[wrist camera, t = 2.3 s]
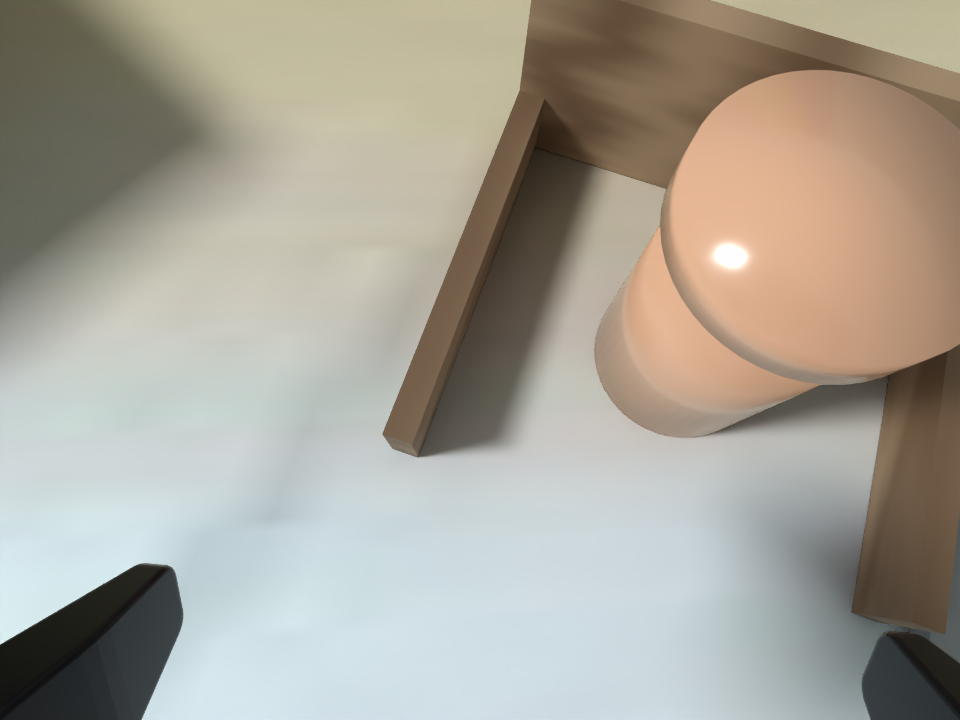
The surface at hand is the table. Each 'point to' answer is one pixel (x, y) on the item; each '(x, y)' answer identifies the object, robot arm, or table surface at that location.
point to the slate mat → (949, 613)
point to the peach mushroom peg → (790, 255)
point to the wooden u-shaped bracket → (653, 159)
